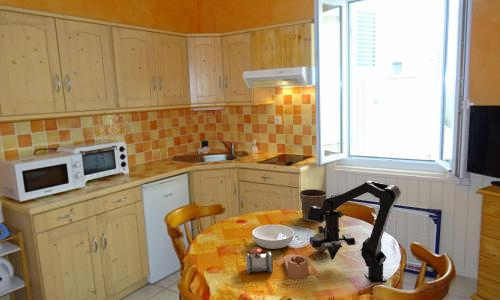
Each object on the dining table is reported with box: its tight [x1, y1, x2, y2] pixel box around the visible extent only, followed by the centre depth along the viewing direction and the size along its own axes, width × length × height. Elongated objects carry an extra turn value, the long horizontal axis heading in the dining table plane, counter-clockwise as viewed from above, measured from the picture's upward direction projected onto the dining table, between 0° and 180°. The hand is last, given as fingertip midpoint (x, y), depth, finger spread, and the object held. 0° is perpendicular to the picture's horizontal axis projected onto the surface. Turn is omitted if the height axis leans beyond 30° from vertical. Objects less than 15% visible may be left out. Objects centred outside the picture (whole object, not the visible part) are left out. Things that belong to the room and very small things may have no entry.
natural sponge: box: [313, 231, 332, 253], centre depth 173 cm, size 9×9×10 cm
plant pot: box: [298, 188, 328, 222], centre depth 217 cm, size 16×16×16 cm
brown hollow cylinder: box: [283, 253, 309, 281], centre depth 158 cm, size 18×8×7 cm, turn 5°
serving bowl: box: [251, 224, 295, 250], centre depth 183 cm, size 21×21×7 cm
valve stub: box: [245, 247, 274, 274], centre depth 157 cm, size 10×9×10 cm
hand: (332, 259), depth 159 cm, fingers closed
